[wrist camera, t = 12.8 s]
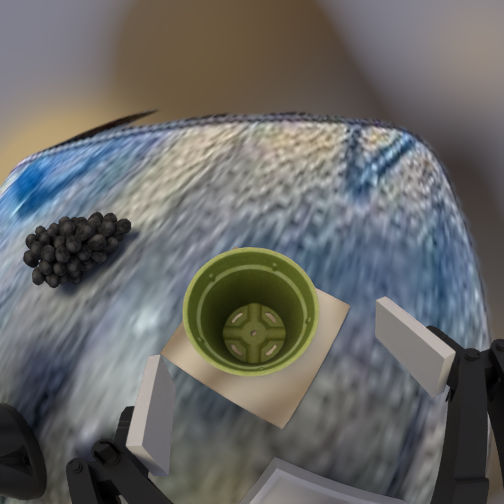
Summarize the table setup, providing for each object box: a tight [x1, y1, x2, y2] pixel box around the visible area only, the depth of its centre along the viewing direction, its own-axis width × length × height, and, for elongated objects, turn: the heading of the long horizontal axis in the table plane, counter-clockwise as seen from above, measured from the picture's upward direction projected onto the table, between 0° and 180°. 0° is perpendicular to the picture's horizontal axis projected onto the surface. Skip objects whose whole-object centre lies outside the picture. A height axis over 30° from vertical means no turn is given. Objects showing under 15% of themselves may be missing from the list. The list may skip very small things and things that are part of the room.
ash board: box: [161, 246, 350, 429], centre depth 27 cm, size 14×14×1 cm
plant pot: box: [183, 247, 319, 377], centre depth 22 cm, size 9×9×9 cm
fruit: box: [23, 212, 131, 288], centre depth 29 cm, size 9×8×15 cm
